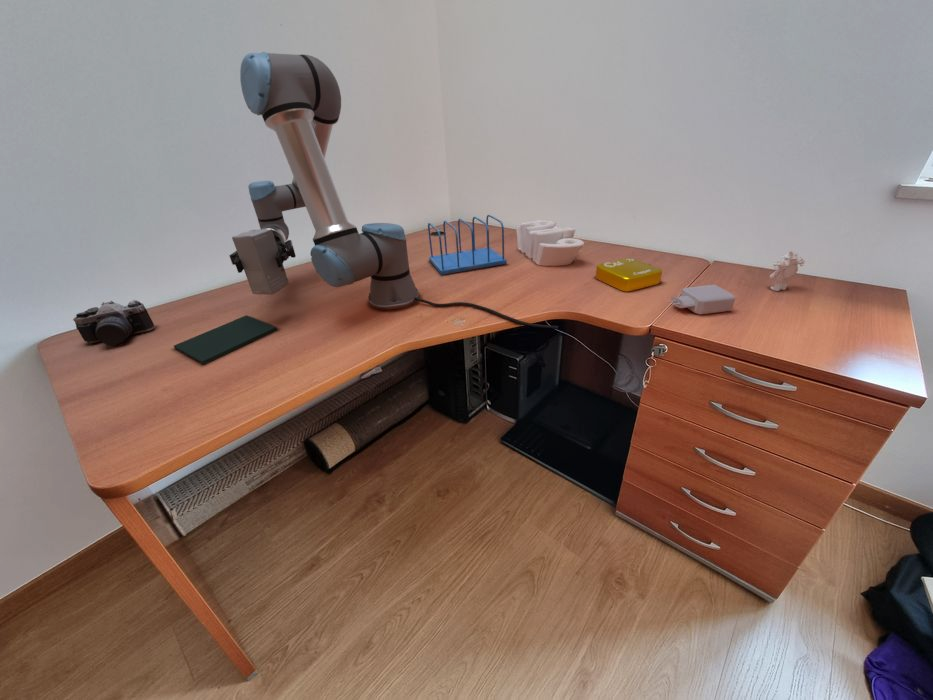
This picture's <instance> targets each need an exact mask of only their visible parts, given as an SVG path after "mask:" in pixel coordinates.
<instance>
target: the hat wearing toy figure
mask: <svg viewBox="0 0 933 700" xmlns="http://www.w3.org/2000/svg"><path fill="white" fill-rule="evenodd" d="M781 257H782V258H780V259H778V260H776V261H774V262H773V269H775V271H773V272H772V273H771V274H770V275H769V276H768V278H769V280H772V279H773V278H775V277H776V276H777V275H778V276H777V277H776V279H775V281H774V285H771V286H770V287H769V289H770V290H771V291H776V292H781V291H782V290H783V291H786V289H787V287H788V285H787V282H788V280H789V278H790V277H794V276H796V275H797V272H799V266H800V267H803V266H804V265H805V263H806V259H804V257H803V256H799V253H798V252H795V251H794V252H793V250H790V251H789V252H786V253H785V255H781ZM783 258H784V259H783ZM798 265H799V266H798Z"/></svg>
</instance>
